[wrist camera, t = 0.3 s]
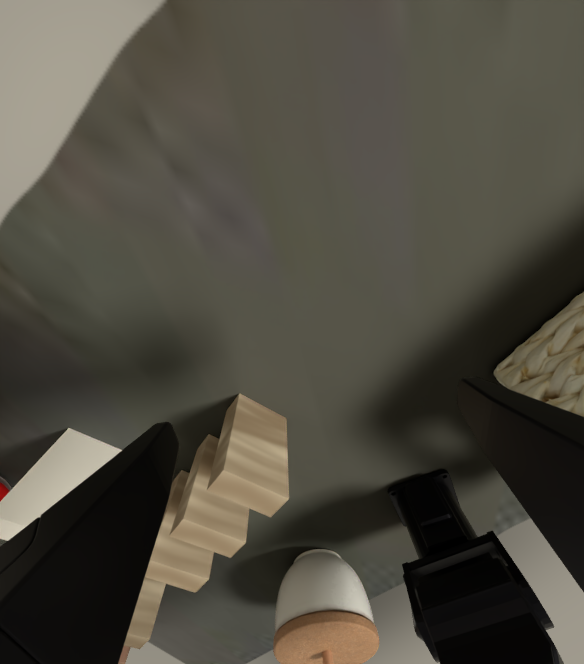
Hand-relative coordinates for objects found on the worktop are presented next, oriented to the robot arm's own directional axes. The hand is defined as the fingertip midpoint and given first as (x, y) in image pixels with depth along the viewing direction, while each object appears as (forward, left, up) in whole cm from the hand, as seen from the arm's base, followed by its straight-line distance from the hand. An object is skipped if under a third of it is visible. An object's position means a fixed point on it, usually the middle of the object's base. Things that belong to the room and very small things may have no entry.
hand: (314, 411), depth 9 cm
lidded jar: (-33, +12, -14) cm, 38 cm away
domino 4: (-12, +13, -14) cm, 22 cm away
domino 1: (-6, +23, -14) cm, 28 cm away
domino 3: (-9, +8, -14) cm, 19 cm away
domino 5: (-15, +18, -14) cm, 27 cm away
